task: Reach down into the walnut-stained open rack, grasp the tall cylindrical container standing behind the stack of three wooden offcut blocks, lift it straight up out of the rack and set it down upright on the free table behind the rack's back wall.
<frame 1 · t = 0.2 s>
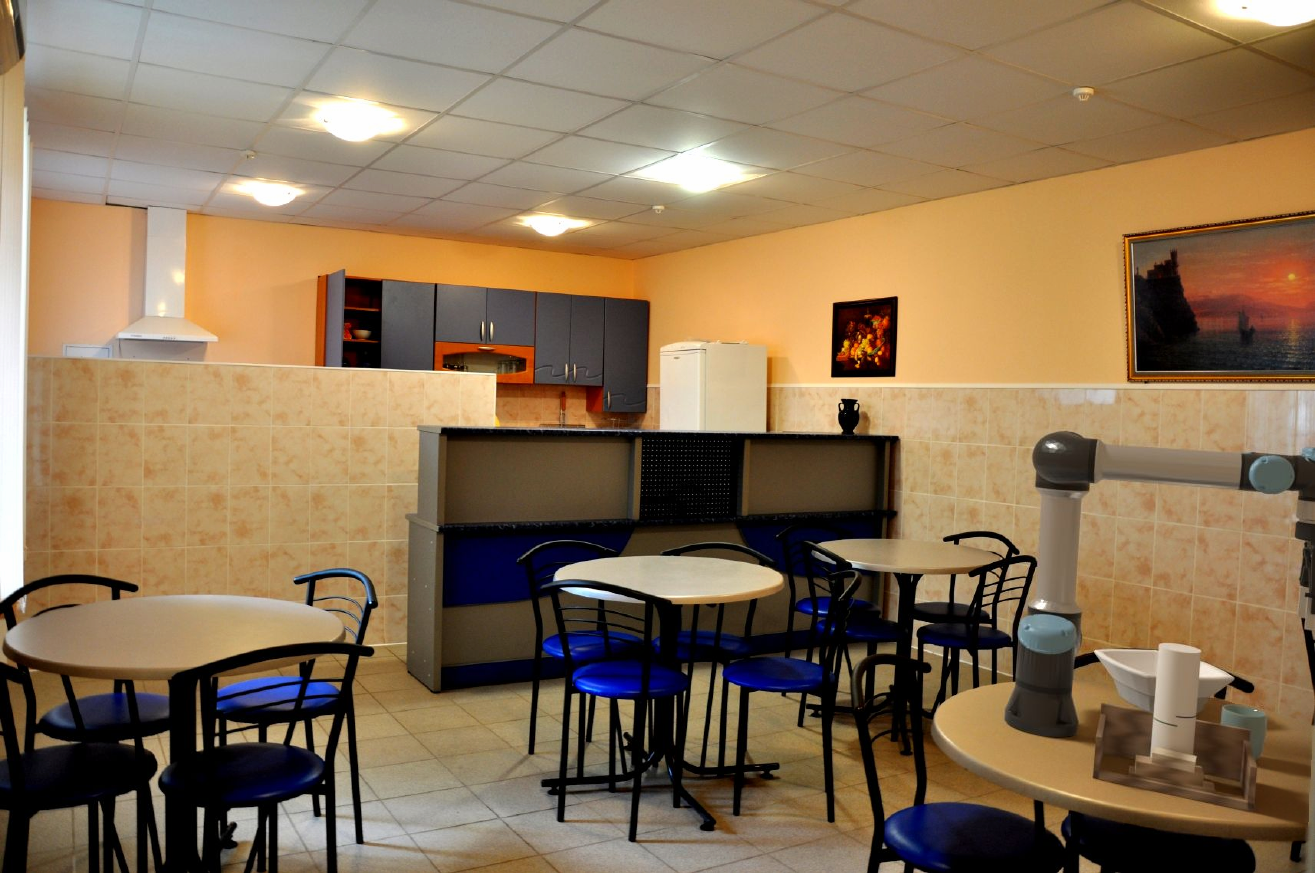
hand: (1308, 623, 197), 28 cm above the table, fingers open, 13 cm apart
offcut top: (1173, 764, 178), point 4 cm above the table, touching offcut middle
offcut bottom: (1169, 790, 178), on the table, touching offcut middle
bowl: (1158, 705, 230), on the table
cup: (1240, 759, 196), on the table
offcut middle: (1167, 776, 178), point 2 cm above the table, touching offcut bottom, offcut top
cylindrical container: (1169, 776, 184), on the table
rack: (1169, 778, 182), on the table
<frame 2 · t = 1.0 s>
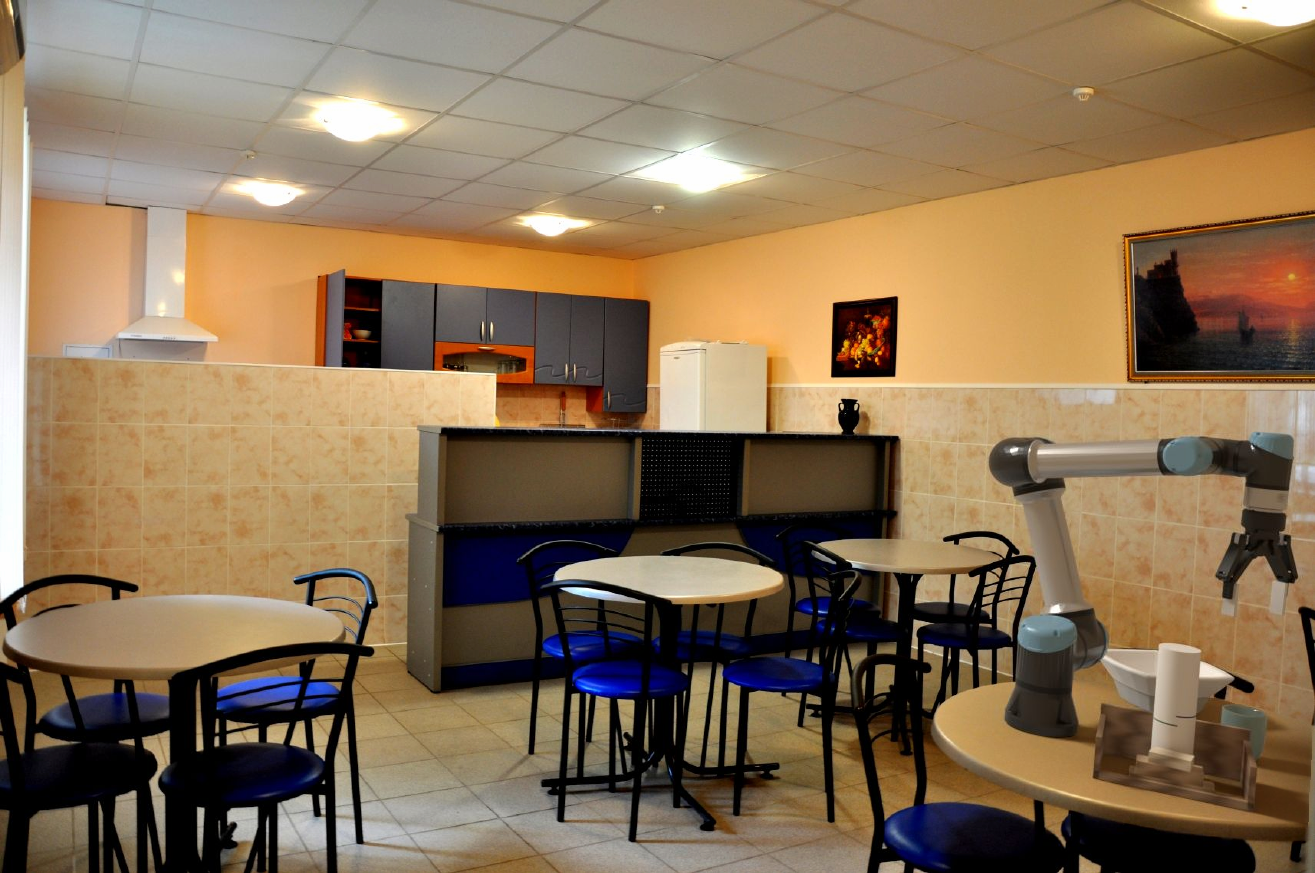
hand: (1252, 614, 191), 30 cm above the table, fingers open, 13 cm apart
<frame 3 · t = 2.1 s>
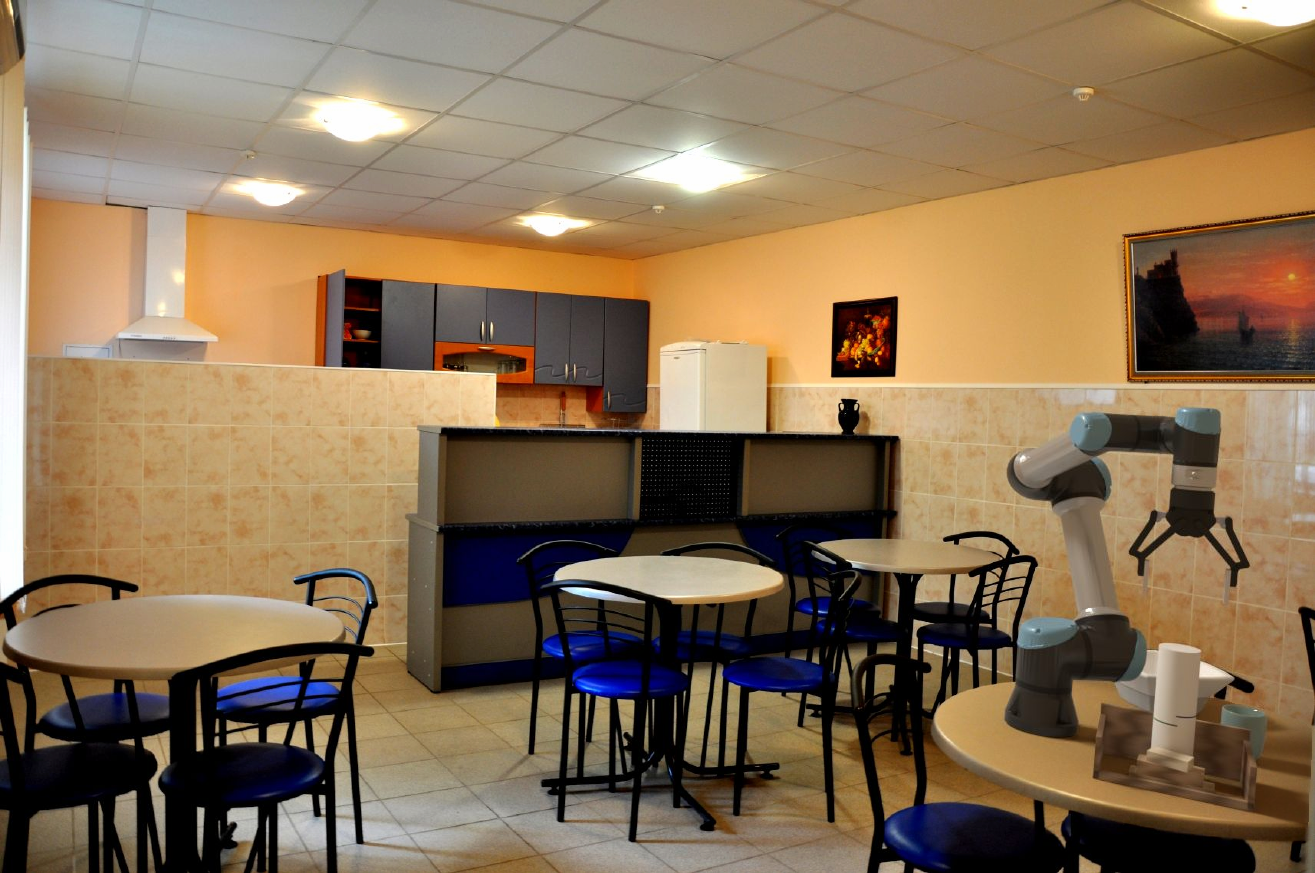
hand: (1184, 598, 182), 35 cm above the table, fingers open, 13 cm apart
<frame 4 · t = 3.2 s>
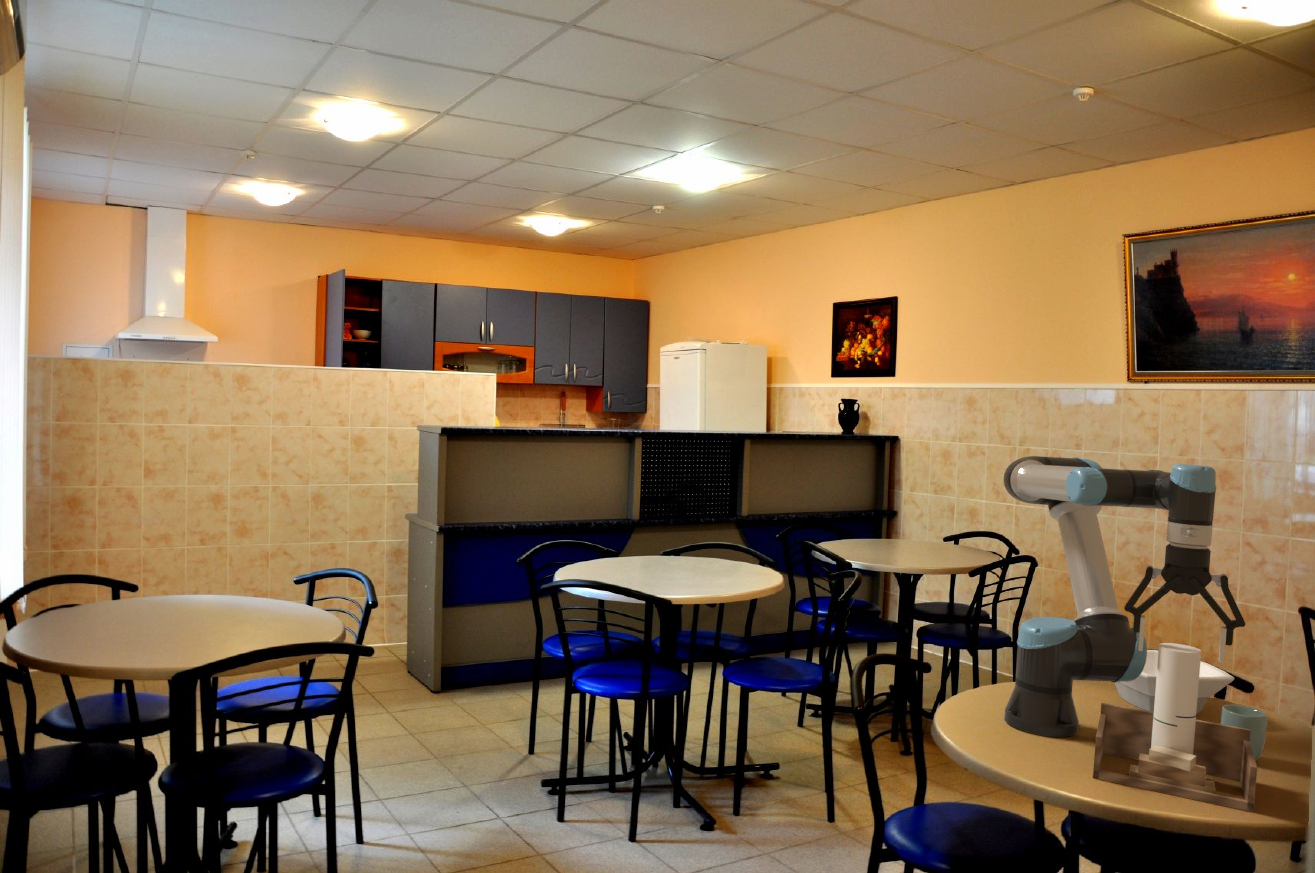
hand: (1180, 655, 183), 24 cm above the table, fingers open, 13 cm apart
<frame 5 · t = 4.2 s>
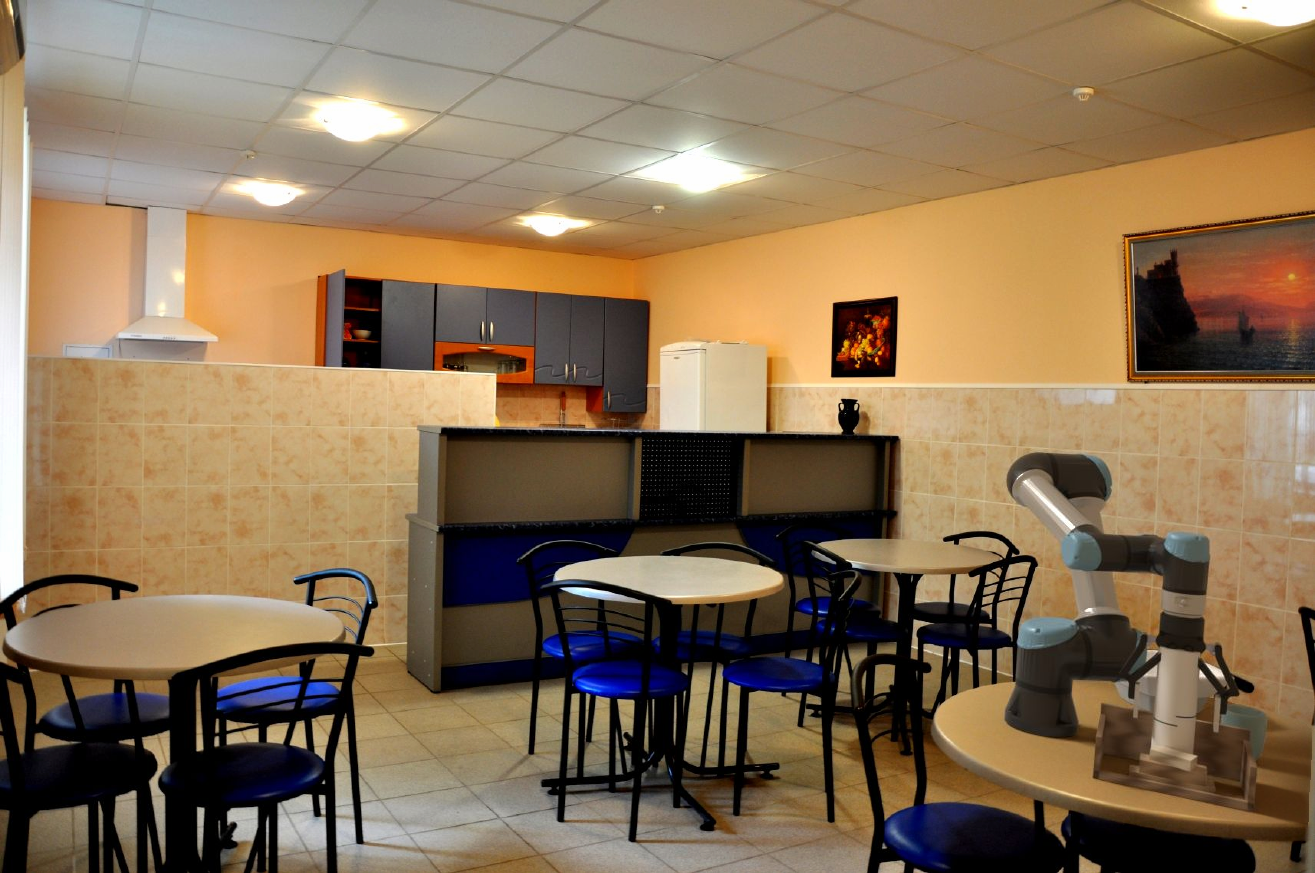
hand: (1174, 723, 183), 10 cm above the table, fingers open, 13 cm apart
nothing on the table moved.
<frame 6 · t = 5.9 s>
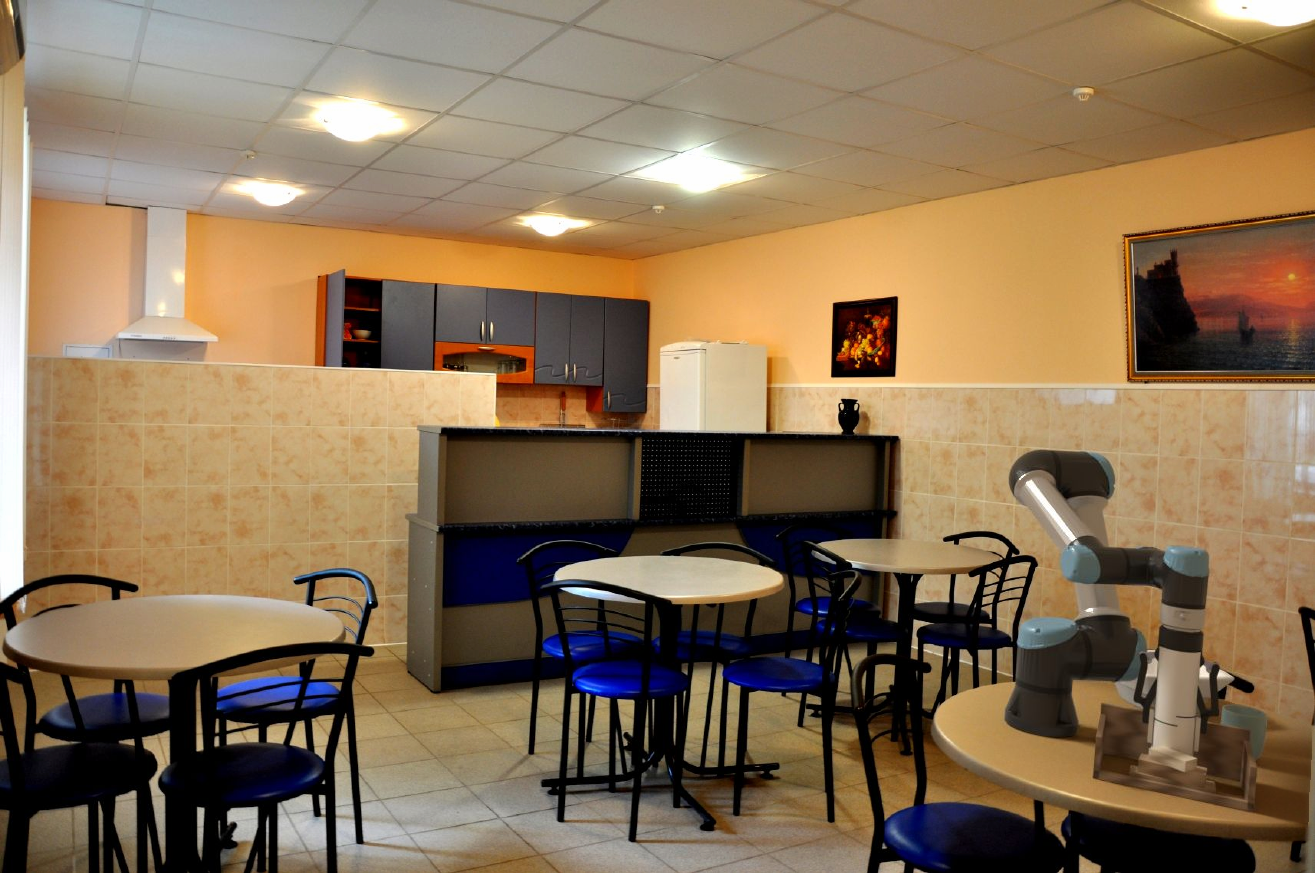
hand: (1172, 744, 184), 6 cm above the table, fingers closed on cylindrical container, 7 cm apart
cylindrical container: (1169, 776, 184), on the table, touching gripper
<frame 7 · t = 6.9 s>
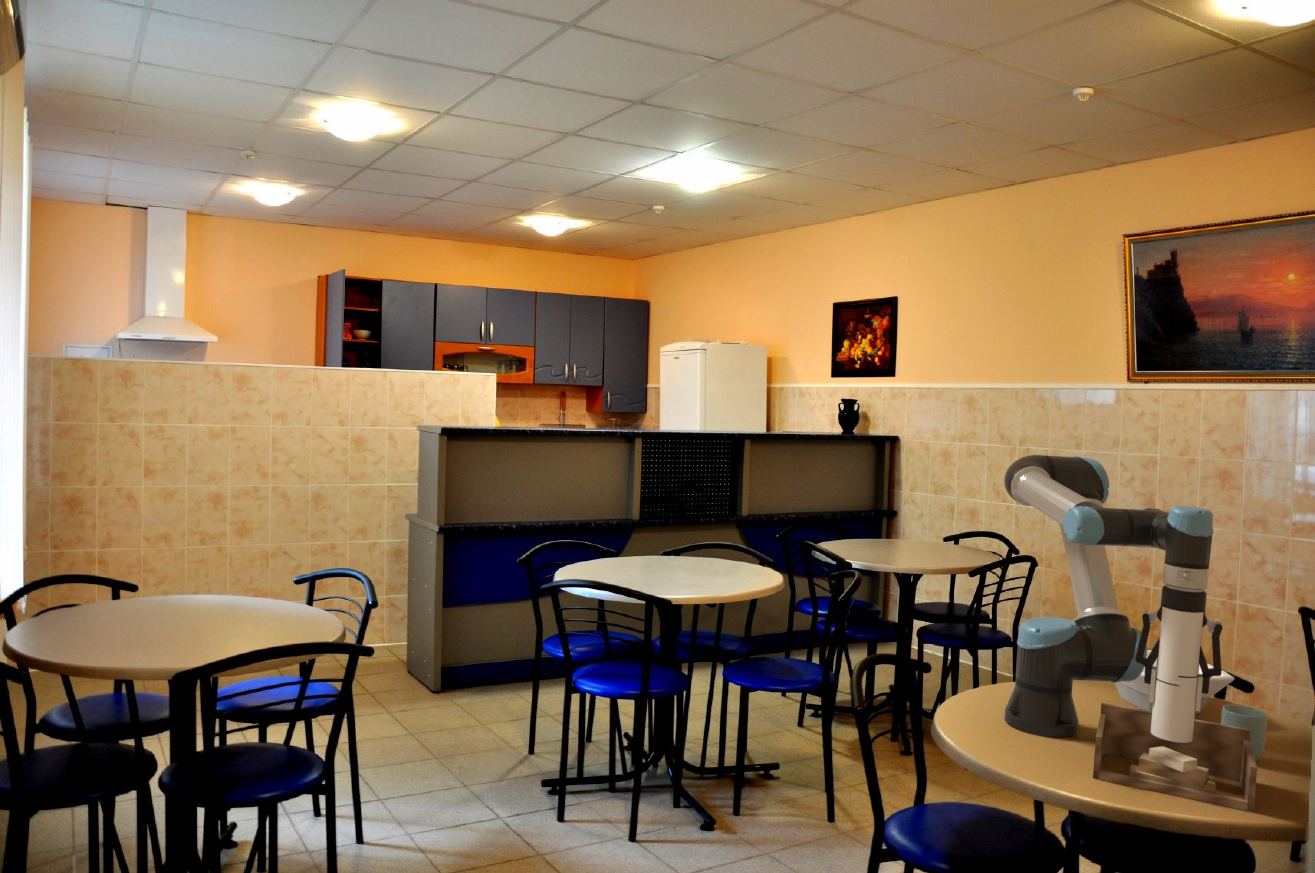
hand: (1174, 704, 184), 14 cm above the table, fingers closed on cylindrical container, 7 cm apart
cylindrical container: (1171, 736, 184), point 7 cm above the table, touching gripper
when the fingers open (8 cm above the table, at t = 14.7 s): cylindrical container drops 1 cm, on the table.
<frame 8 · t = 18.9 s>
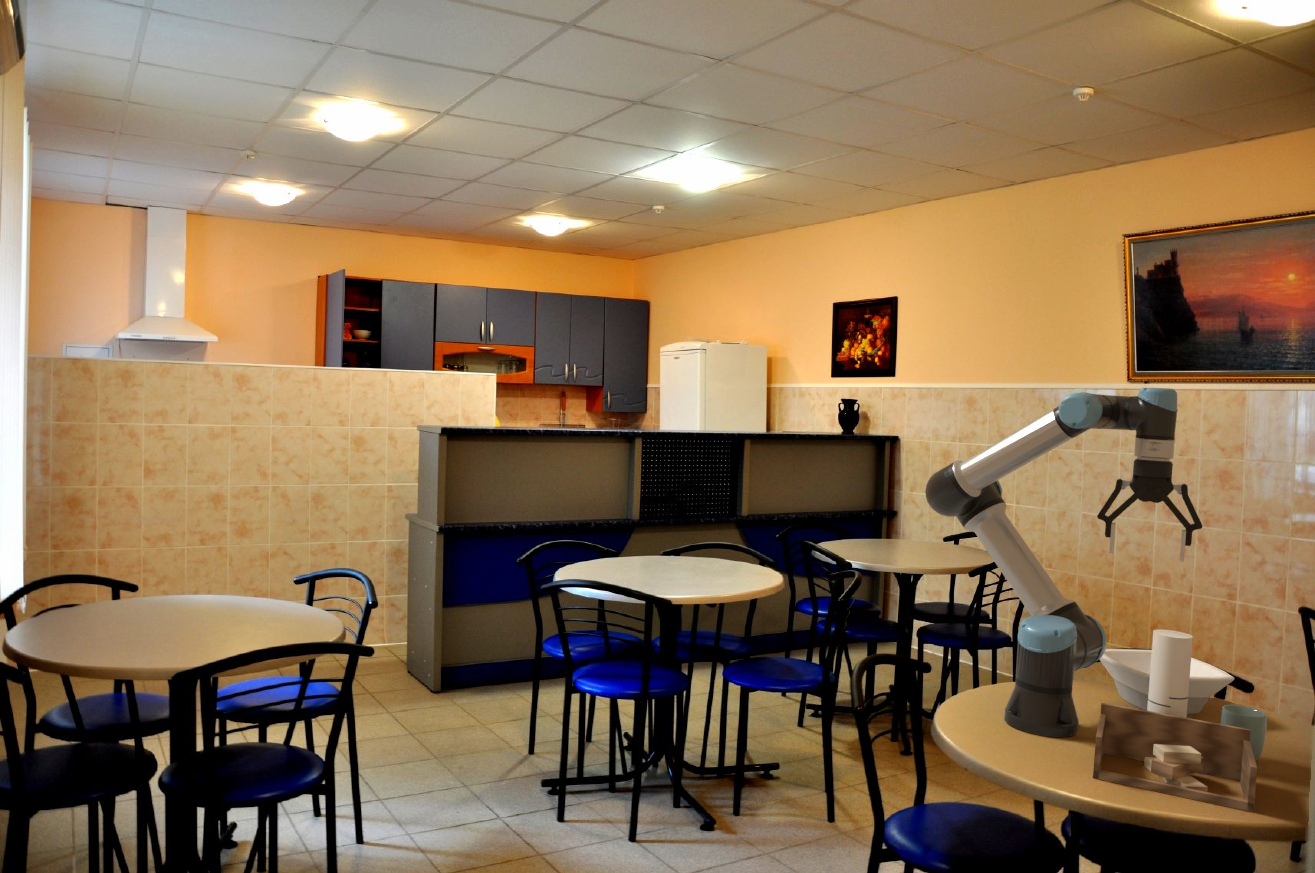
hand: (1145, 556, 207), 39 cm above the table, fingers open, 13 cm apart
offcut top: (1176, 758, 181), point 4 cm above the table, touching offcut middle
offcut bottom: (1173, 784, 181), on the table, touching offcut middle
offcut middle: (1177, 771, 181), point 2 cm above the table, touching offcut bottom, offcut top
cylindrical container: (1163, 754, 196), on the table
everything else where it was.
at the end: cylindrical container inside the target area (0.4 cm from its centre), on the table; cylindrical container tilted 0°; the gripper is holding nothing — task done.
